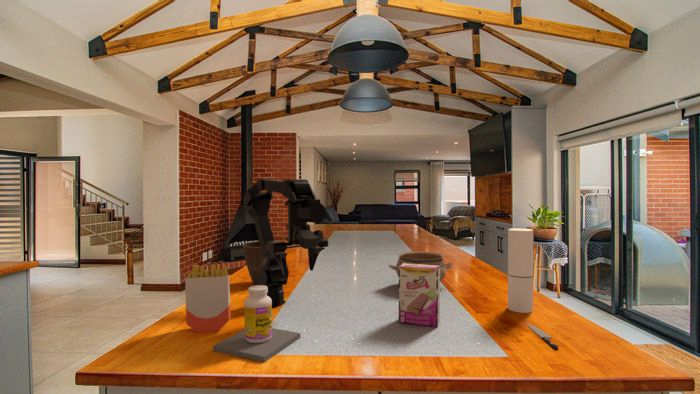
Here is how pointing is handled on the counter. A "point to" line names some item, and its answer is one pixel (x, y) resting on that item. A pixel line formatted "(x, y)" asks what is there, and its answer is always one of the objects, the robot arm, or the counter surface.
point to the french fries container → (207, 299)
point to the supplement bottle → (258, 315)
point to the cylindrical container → (520, 270)
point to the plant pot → (253, 259)
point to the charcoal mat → (257, 345)
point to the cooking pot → (423, 261)
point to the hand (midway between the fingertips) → (298, 272)
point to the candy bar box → (419, 294)
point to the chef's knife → (542, 335)
